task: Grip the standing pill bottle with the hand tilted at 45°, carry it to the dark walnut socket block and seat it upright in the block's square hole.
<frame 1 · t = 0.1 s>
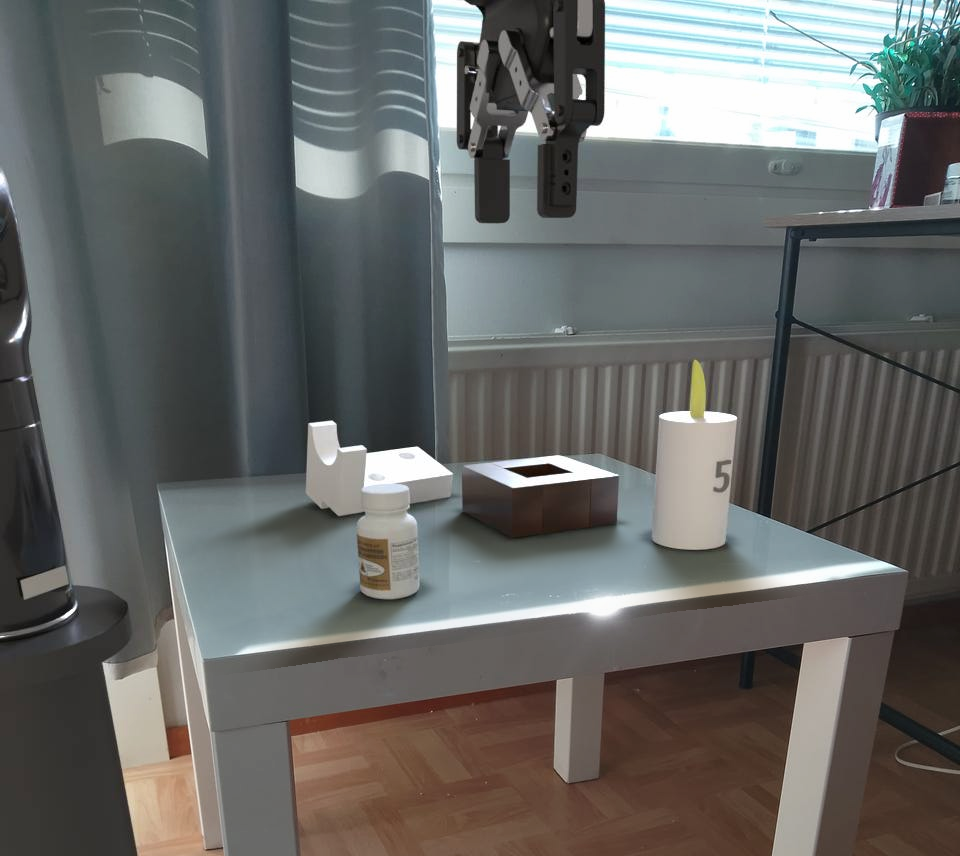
hand: (522, 220, 57), 25 cm above the table, tool pointing down, fingers open, 8 cm apart
socket: (537, 517, 89), on the table
candle: (689, 541, 81), on the table
bracket: (383, 503, 95), on the table
pill bottle: (390, 593, 69), on the table
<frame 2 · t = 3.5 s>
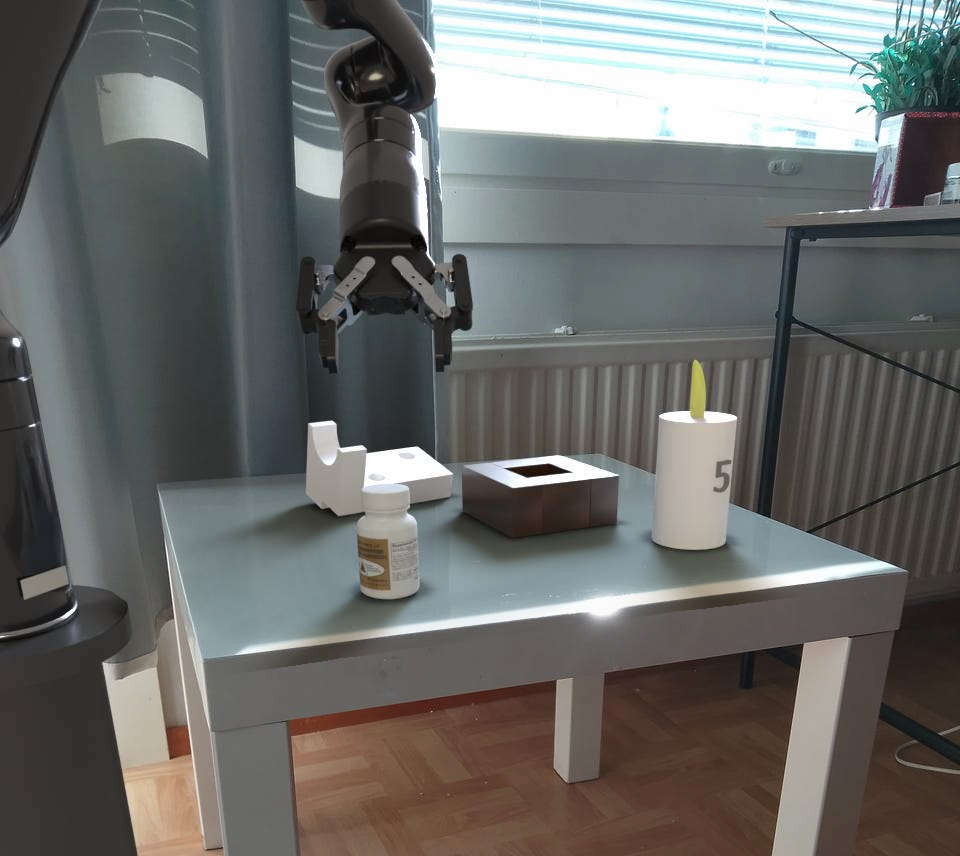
hand: (386, 366, 74), 15 cm above the table, tool tilted 45°, fingers open, 8 cm apart
nothing on the table moved.
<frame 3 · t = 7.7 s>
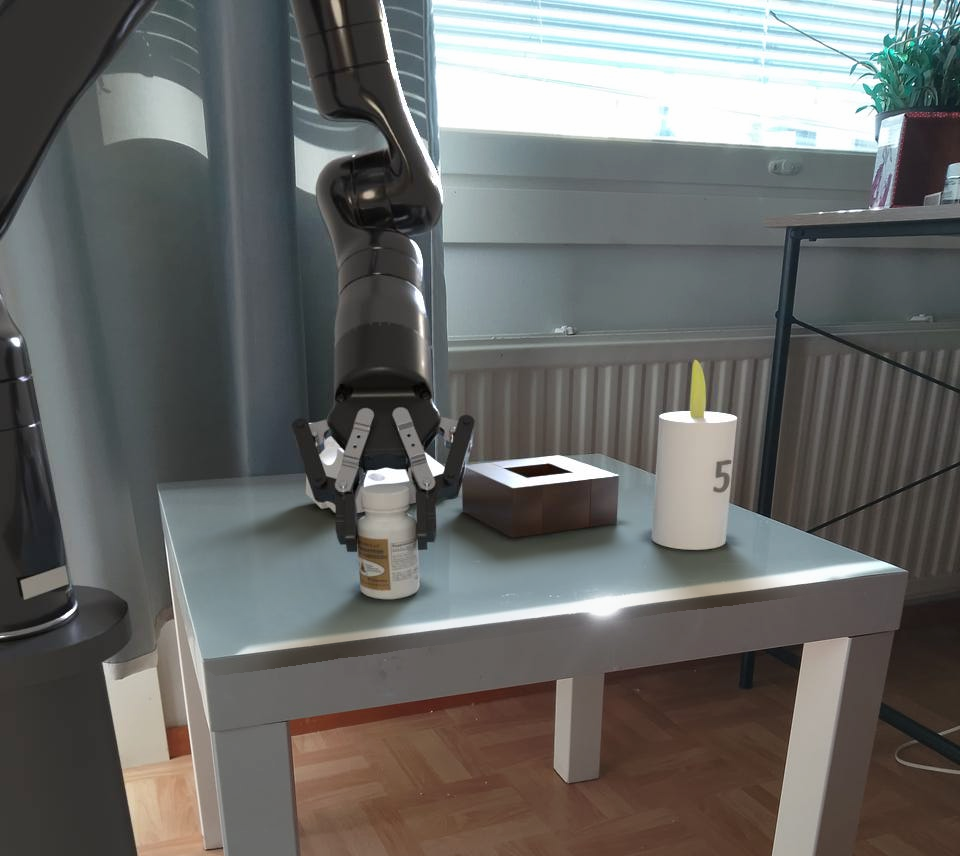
hand: (387, 544, 66), 4 cm above the table, tool tilted 45°, fingers closed on pill bottle, 4 cm apart
pill bottle: (390, 593, 69), on the table, touching gripper
everything else where it was.
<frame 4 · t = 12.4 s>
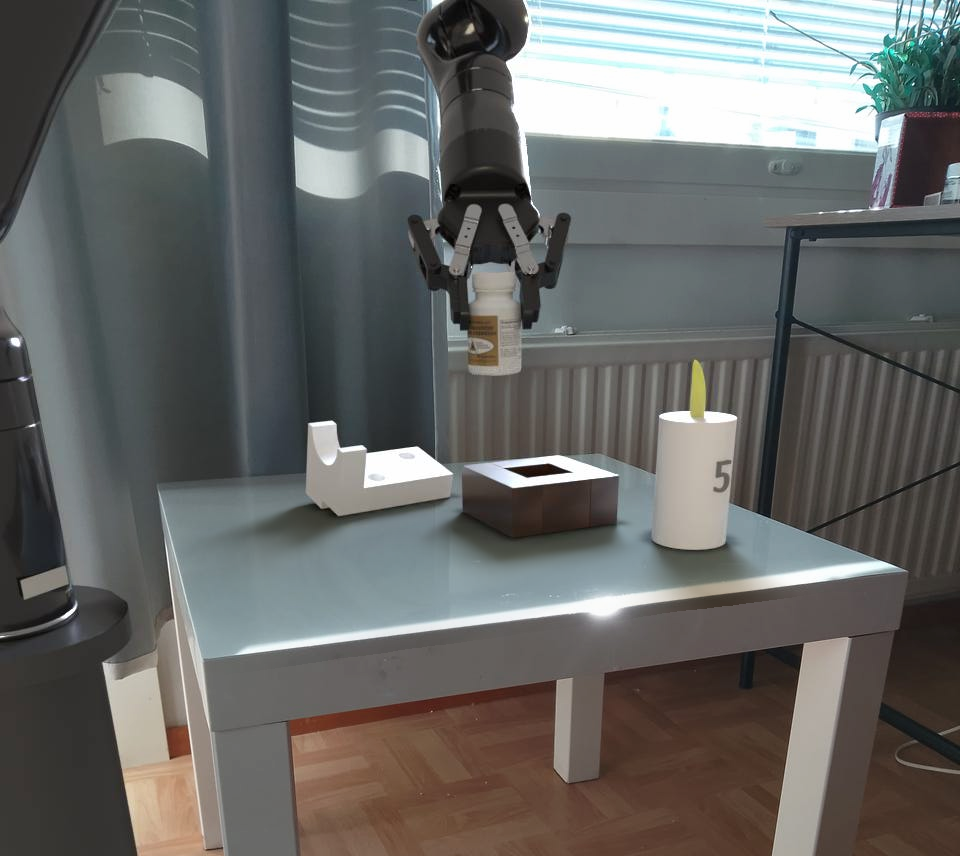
hand: (496, 322, 73), 18 cm above the table, tool tilted 45°, fingers closed on pill bottle, 4 cm apart
pill bottle: (494, 375, 77), point 14 cm above the table, touching gripper
everything else where it was.
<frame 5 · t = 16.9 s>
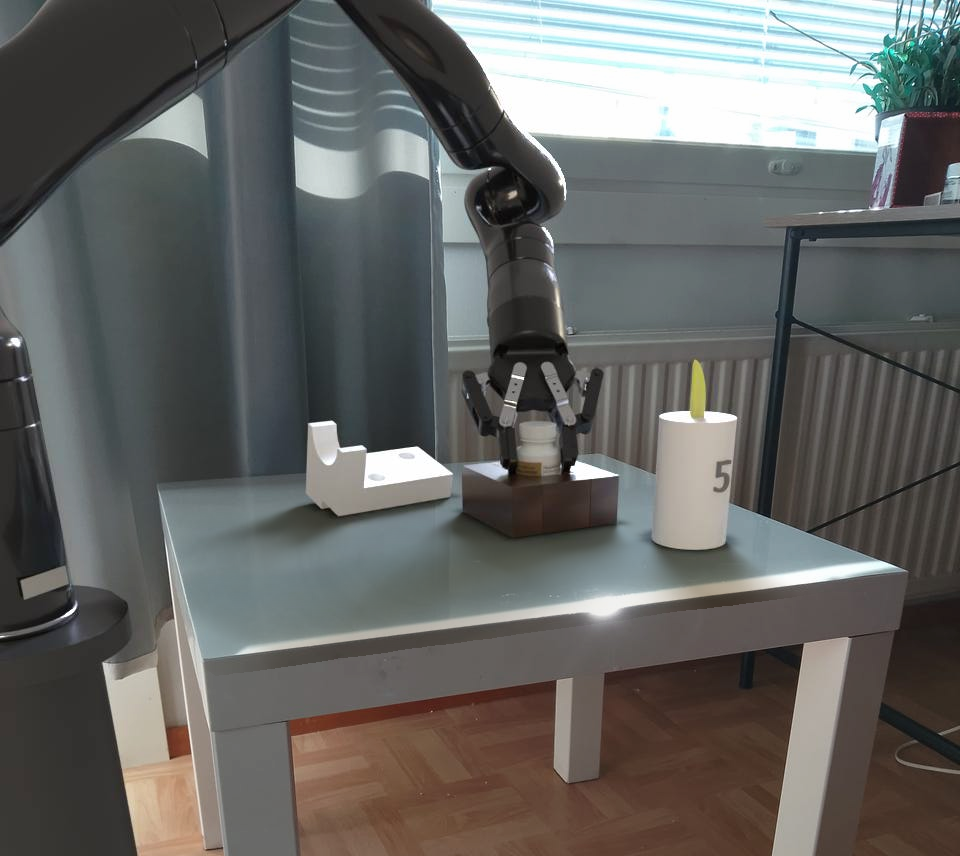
hand: (540, 467, 85), 5 cm above the table, tool tilted 45°, fingers closed on pill bottle, 4 cm apart
pill bottle: (536, 508, 88), point 1 cm above the table, touching gripper
everything else where it was.
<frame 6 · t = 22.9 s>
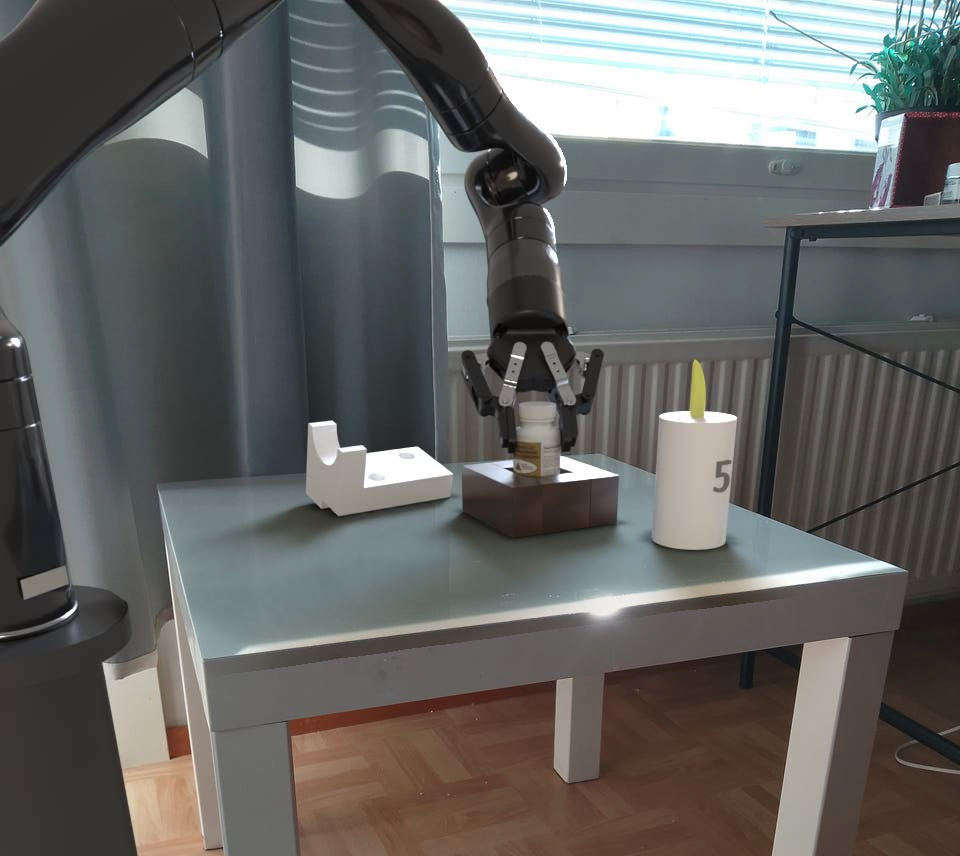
hand: (539, 447, 84), 7 cm above the table, tool tilted 45°, fingers closed on pill bottle, 4 cm apart
pill bottle: (536, 489, 88), point 3 cm above the table, touching gripper
everything else where it was.
when the fingers open (7 cm above the table, at t = 28.2 s): pill bottle drops 3 cm, resting in socket.
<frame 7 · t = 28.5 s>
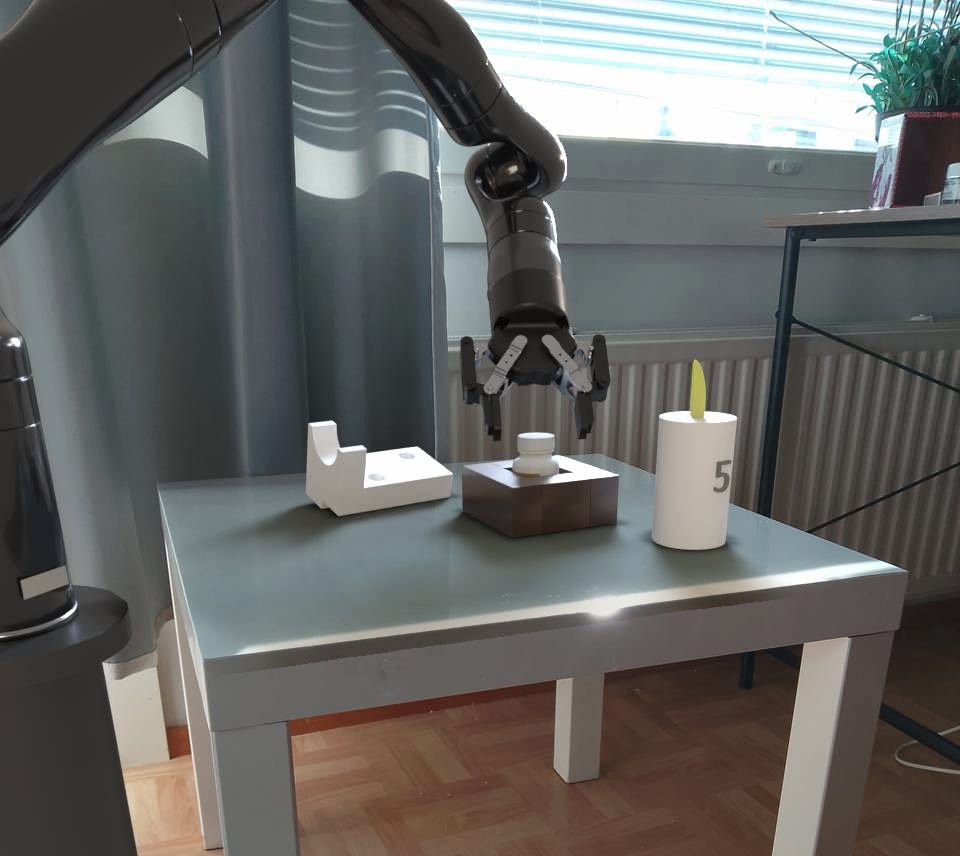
hand: (540, 435, 84), 8 cm above the table, tool tilted 45°, fingers open, 7 cm apart
pill bottle: (535, 519, 89), resting in socket
everything else where it was.
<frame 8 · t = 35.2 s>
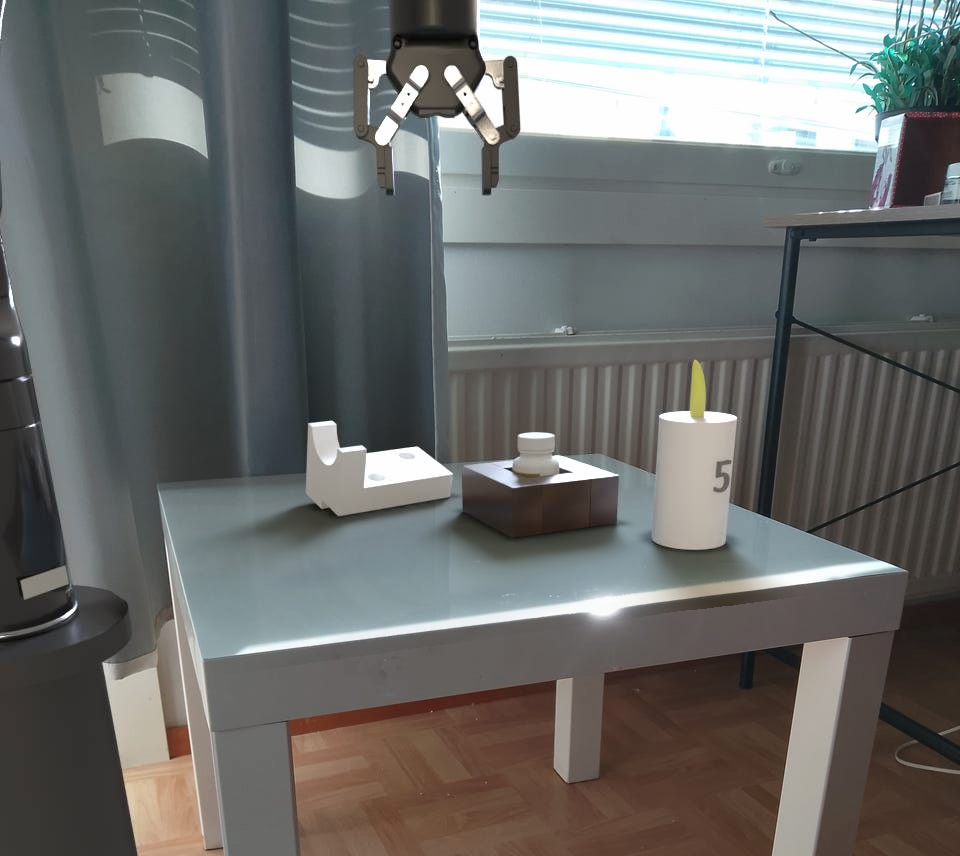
hand: (438, 195, 82), 28 cm above the table, tool pointing down, fingers open, 8 cm apart
nothing on the table moved.
at the end: pill bottle 0.3 cm off-centre in the socket, point 0.0 cm above the socket's base; pill bottle tilted 0° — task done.
